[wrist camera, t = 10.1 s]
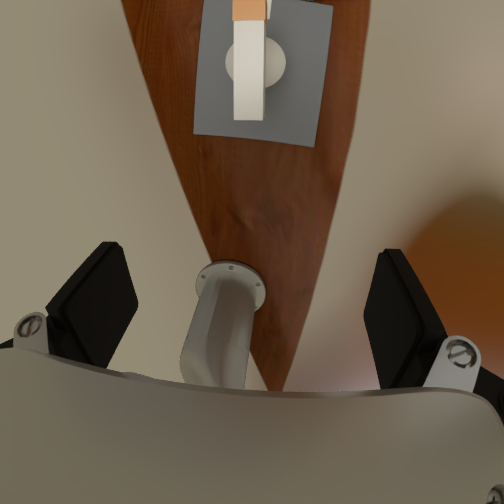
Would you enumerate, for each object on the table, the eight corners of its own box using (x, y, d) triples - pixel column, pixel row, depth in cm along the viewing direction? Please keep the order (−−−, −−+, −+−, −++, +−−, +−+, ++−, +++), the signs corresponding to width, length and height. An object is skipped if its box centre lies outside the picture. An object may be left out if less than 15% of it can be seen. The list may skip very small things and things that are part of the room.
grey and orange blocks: (230, 17, 24) (211, -3, 16) (286, 17, 23) (287, -4, 16) (230, 109, 30) (212, 120, 23) (284, 110, 30) (284, 121, 22)
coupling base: (312, 145, 37) (317, 156, 32) (196, 132, 38) (182, 141, 33) (331, 8, 26) (339, -3, 21) (207, -2, 26) (195, -14, 21)
